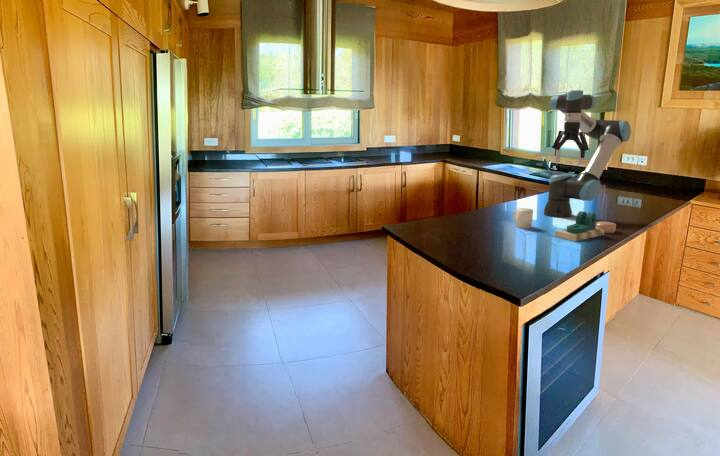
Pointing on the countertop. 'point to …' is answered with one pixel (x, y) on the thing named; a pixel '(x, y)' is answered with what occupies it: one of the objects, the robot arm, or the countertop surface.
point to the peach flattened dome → (606, 226)
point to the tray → (579, 236)
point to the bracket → (583, 223)
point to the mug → (523, 218)
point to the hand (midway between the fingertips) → (568, 163)
